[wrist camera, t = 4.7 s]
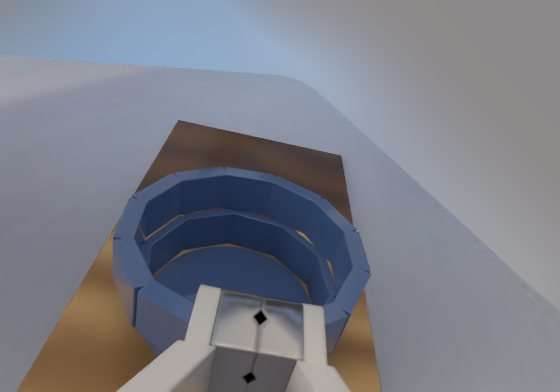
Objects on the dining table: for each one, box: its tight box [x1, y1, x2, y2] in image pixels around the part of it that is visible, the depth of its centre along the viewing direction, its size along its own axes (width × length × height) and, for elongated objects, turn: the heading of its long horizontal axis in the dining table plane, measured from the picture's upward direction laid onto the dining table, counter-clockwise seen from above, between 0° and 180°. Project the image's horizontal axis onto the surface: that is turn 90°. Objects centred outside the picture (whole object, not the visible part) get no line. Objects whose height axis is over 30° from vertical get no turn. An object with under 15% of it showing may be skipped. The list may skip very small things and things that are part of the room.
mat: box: [135, 120, 353, 231], centre depth 40 cm, size 15×18×1 cm
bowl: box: [113, 167, 371, 357], centre depth 24 cm, size 13×13×6 cm
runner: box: [17, 211, 381, 392], centre depth 26 cm, size 18×18×1 cm
